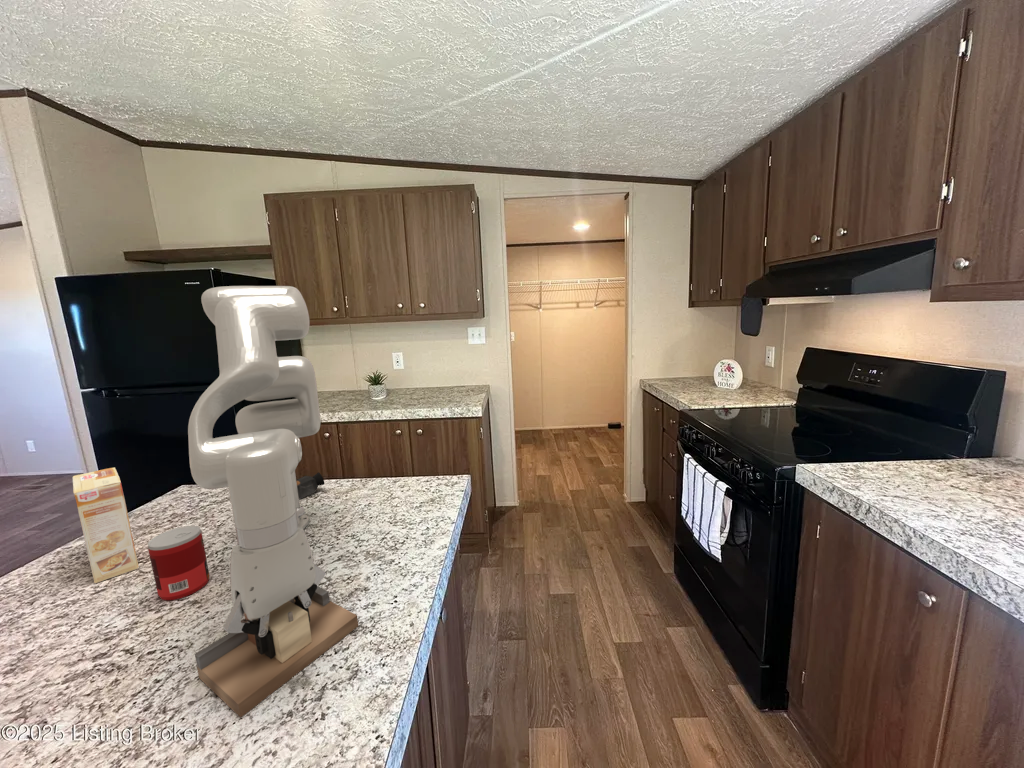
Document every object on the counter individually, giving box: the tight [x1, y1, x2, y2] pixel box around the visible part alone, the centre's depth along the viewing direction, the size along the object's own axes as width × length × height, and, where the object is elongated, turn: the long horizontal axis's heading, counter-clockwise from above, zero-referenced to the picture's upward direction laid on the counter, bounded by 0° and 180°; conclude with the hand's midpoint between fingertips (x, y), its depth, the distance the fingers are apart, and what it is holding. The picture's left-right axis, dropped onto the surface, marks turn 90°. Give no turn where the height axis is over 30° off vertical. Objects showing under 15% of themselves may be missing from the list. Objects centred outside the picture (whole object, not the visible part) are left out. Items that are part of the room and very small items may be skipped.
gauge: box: [243, 601, 312, 663], centre depth 62 cm, size 9×5×8 cm, turn 57°
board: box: [194, 585, 359, 718], centre depth 63 cm, size 12×18×4 cm, turn 148°
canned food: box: [147, 525, 210, 601], centre depth 80 cm, size 8×8×11 cm
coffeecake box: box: [72, 467, 140, 584], centre depth 89 cm, size 15×7×20 cm, turn 47°
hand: (285, 640), depth 62 cm, fingers closed on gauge, 4 cm apart
